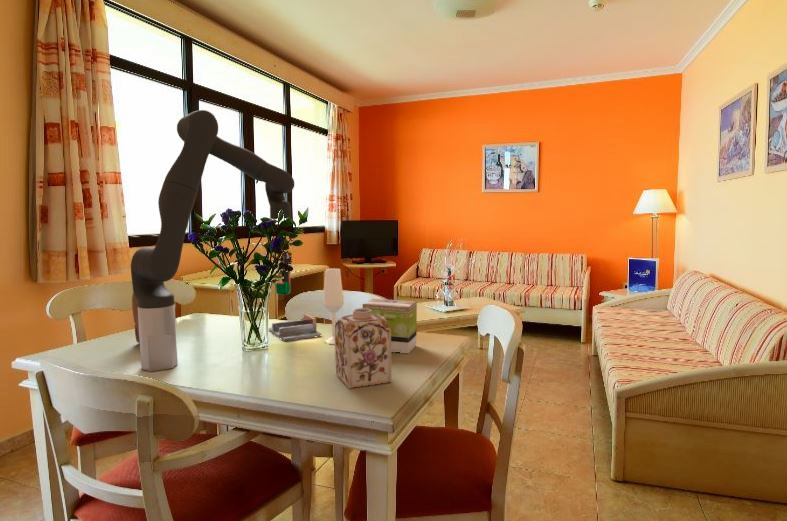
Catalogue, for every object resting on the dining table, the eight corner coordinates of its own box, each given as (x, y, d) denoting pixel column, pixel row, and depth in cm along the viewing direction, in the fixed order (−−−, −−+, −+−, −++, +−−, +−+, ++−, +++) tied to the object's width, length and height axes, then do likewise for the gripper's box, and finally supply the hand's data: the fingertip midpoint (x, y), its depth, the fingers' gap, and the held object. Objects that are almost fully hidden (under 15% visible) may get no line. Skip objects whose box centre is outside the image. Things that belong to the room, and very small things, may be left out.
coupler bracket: (321, 336, 171) (320, 320, 170) (284, 341, 164) (283, 325, 164) (303, 326, 186) (302, 311, 186) (268, 330, 180) (268, 315, 179)
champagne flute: (347, 343, 162) (346, 269, 159) (327, 345, 159) (325, 271, 157) (340, 338, 168) (339, 267, 165) (321, 340, 165) (319, 268, 163)
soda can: (272, 294, 171) (271, 259, 170) (283, 291, 175) (282, 258, 174) (282, 295, 168) (281, 260, 167) (293, 293, 173) (292, 258, 171)
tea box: (361, 350, 153) (361, 303, 152) (372, 342, 163) (372, 297, 161) (409, 354, 149) (408, 305, 147) (417, 345, 158) (417, 300, 157)
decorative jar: (376, 369, 135) (376, 304, 133) (393, 382, 125) (392, 312, 123) (334, 375, 131) (332, 307, 129) (347, 389, 120) (345, 316, 118)
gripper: (298, 232, 165) (300, 282, 167) (285, 230, 178) (286, 278, 180) (276, 233, 162) (278, 284, 163) (264, 231, 174) (266, 279, 176)
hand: (282, 280), depth 172 cm, fingers closed on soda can, 5 cm apart
